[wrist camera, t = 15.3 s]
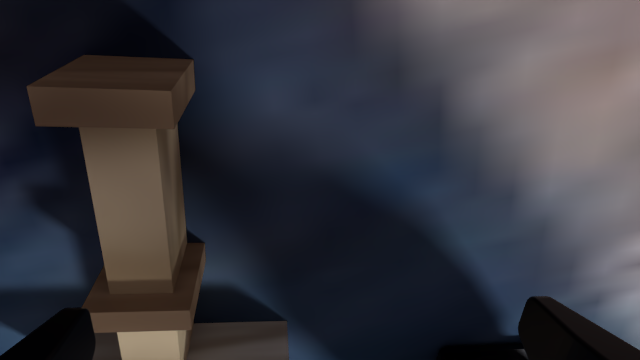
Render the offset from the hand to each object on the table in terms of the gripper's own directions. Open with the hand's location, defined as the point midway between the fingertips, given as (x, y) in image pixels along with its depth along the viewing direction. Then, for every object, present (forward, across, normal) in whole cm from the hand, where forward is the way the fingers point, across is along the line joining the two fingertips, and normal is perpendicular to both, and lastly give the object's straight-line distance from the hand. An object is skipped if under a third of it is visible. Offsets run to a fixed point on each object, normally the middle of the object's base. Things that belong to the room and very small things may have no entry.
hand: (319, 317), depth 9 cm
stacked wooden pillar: (+11, +6, +5) cm, 13 cm away
